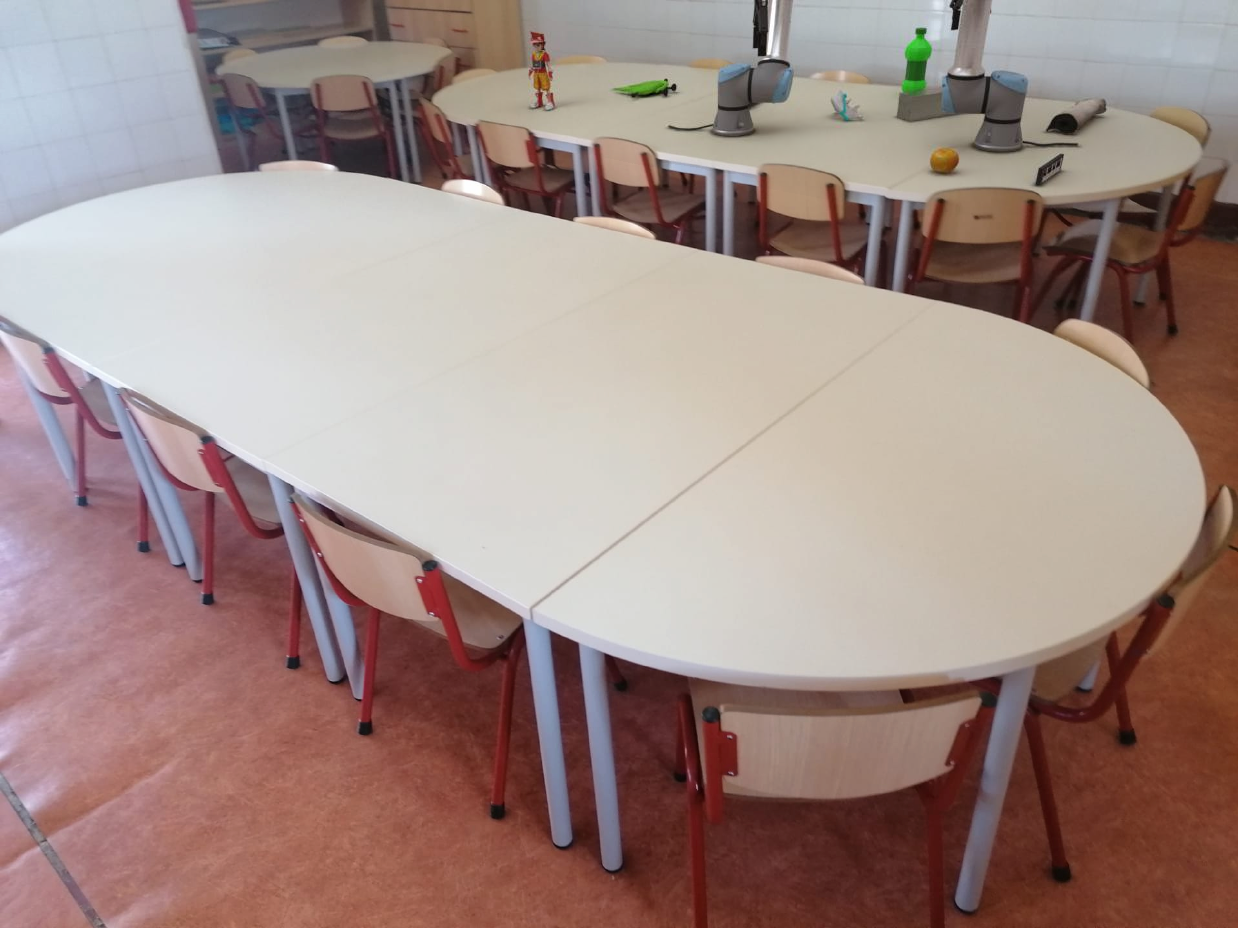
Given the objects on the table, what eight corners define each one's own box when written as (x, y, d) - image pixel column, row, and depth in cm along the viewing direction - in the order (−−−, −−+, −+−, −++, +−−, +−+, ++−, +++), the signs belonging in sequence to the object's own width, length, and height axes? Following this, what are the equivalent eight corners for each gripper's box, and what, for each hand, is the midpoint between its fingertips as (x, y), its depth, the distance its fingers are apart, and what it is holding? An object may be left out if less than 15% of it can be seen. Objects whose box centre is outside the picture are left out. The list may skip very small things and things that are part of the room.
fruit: (924, 163, 281) (941, 140, 278) (925, 165, 289) (941, 143, 286) (946, 178, 280) (963, 155, 277) (947, 180, 288) (963, 158, 285)
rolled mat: (1073, 103, 332) (1098, 85, 324) (1087, 124, 332) (1112, 107, 324) (1041, 125, 315) (1067, 107, 306) (1056, 147, 315) (1082, 129, 307)
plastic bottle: (931, 95, 365) (940, 28, 351) (913, 100, 361) (922, 32, 346) (911, 91, 372) (920, 25, 358) (894, 96, 368) (902, 29, 353)
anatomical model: (825, 90, 346) (851, 83, 346) (828, 117, 352) (853, 110, 352) (836, 99, 334) (863, 92, 333) (839, 127, 340) (865, 120, 339)
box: (909, 121, 335) (912, 97, 330) (896, 117, 342) (899, 92, 337) (969, 111, 342) (973, 87, 337) (955, 107, 349) (959, 83, 344)
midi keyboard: (1039, 185, 269) (1043, 168, 266) (1035, 184, 270) (1038, 168, 267) (1060, 170, 279) (1064, 154, 277) (1056, 169, 280) (1060, 153, 277)
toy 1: (525, 109, 381) (517, 32, 364) (534, 104, 388) (527, 28, 371) (550, 110, 377) (543, 32, 360) (559, 105, 384) (553, 28, 367)
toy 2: (686, 85, 398) (631, 84, 414) (685, 72, 395) (629, 72, 411) (651, 104, 381) (596, 103, 397) (650, 92, 378) (594, 91, 394)
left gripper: (779, -17, 271) (776, 59, 283) (768, -27, 291) (766, 44, 303) (754, -15, 271) (752, 60, 283) (745, -25, 292) (743, 45, 304)
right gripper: (1009, -31, 308) (997, 36, 320) (962, -37, 327) (953, 26, 339) (991, -29, 306) (980, 39, 318) (945, -35, 325) (936, 29, 338)
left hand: (759, 52), depth 293 cm, fingers open, 13 cm apart
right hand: (966, 32), depth 329 cm, fingers open, 13 cm apart
